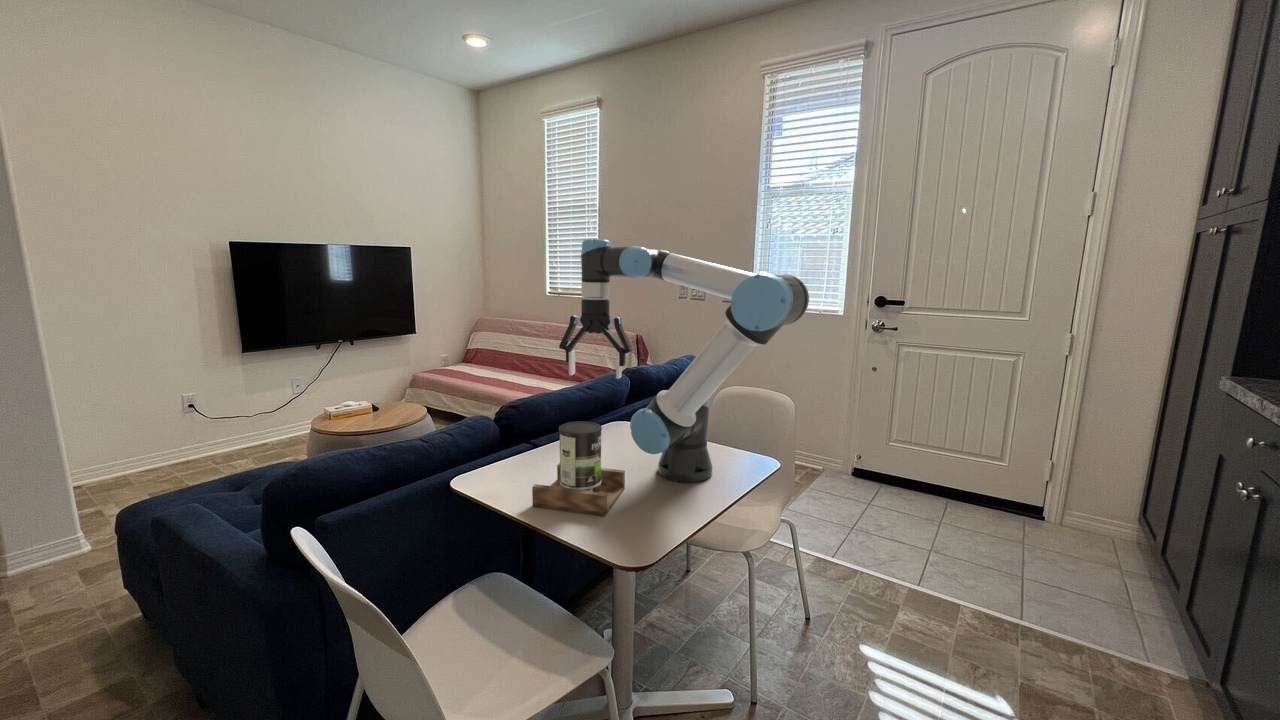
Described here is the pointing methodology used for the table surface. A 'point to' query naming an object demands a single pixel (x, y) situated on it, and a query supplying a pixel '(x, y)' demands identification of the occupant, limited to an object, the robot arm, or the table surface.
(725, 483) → the table surface
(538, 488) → the wooden tray
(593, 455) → the coffee can
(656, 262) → the robot arm
